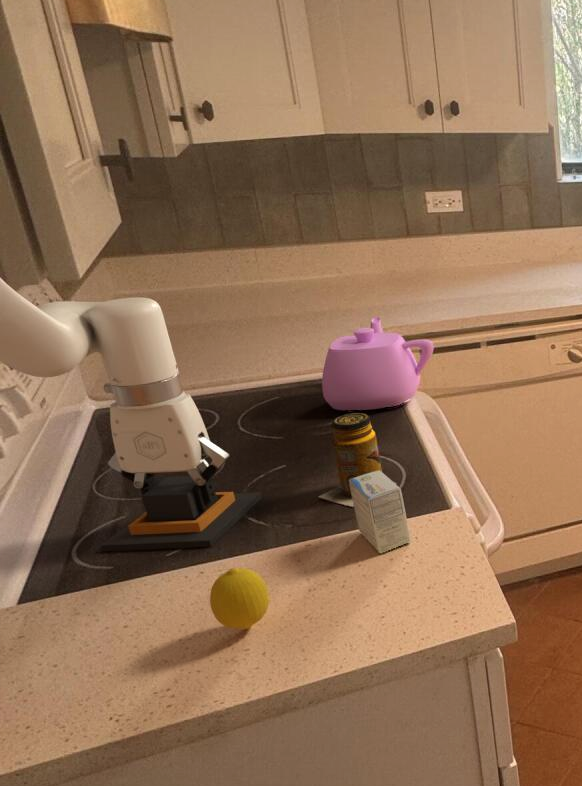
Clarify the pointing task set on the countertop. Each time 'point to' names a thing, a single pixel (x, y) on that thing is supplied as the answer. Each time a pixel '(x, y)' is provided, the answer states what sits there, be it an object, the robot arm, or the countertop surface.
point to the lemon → (239, 598)
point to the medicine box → (379, 511)
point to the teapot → (372, 369)
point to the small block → (172, 500)
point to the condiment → (352, 453)
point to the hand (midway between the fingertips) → (183, 506)
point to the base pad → (184, 526)
